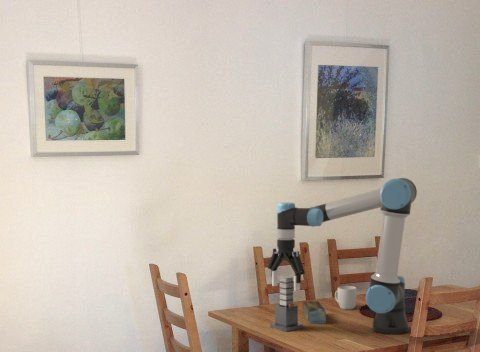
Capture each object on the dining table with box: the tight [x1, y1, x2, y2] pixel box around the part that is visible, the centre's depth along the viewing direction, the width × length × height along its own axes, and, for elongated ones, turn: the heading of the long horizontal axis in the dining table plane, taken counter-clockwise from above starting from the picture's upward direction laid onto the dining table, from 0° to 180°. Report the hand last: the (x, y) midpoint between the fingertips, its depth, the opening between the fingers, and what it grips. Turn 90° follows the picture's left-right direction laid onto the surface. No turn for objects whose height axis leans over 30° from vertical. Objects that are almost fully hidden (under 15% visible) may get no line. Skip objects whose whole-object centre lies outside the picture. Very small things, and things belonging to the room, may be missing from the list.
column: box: [278, 275, 294, 307], centre depth 307 cm, size 4×4×20 cm
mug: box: [334, 285, 358, 310], centre depth 346 cm, size 13×9×10 cm
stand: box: [269, 302, 304, 332], centre depth 308 cm, size 10×10×11 cm
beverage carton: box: [302, 300, 327, 325], centre depth 324 cm, size 8×19×7 cm, turn 3°
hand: (285, 288), depth 307 cm, fingers open, 13 cm apart
